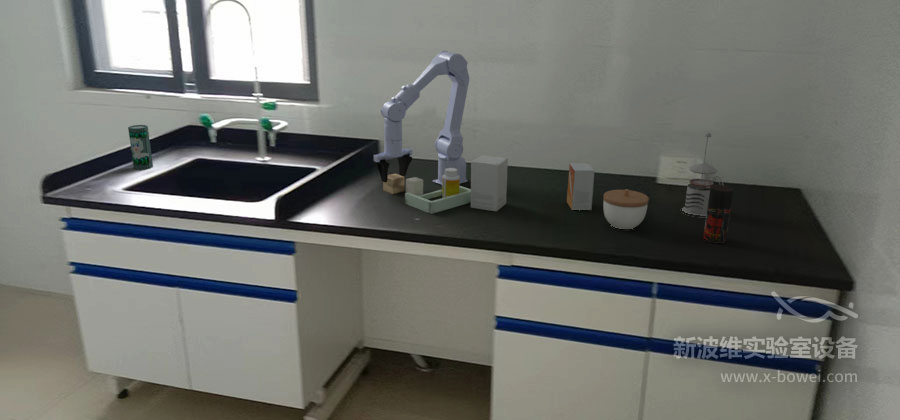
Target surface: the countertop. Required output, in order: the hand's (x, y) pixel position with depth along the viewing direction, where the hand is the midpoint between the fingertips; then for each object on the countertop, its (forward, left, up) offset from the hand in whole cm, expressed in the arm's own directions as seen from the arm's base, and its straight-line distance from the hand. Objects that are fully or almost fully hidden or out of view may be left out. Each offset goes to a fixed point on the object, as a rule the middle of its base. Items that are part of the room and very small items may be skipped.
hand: (393, 179), depth 228 cm
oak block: (0, 0, -4) cm, 4 cm away
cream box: (-3, +7, -4) cm, 9 cm away
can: (+52, -80, -4) cm, 95 cm away
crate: (-4, +19, -4) cm, 20 cm away
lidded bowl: (-30, +69, -4) cm, 75 cm away
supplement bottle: (-8, +20, -4) cm, 21 cm away
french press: (-58, +78, -4) cm, 97 cm away
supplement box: (-13, +31, -4) cm, 34 cm away
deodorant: (-40, +92, -4) cm, 100 cm away
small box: (-34, +50, -4) cm, 61 cm away
